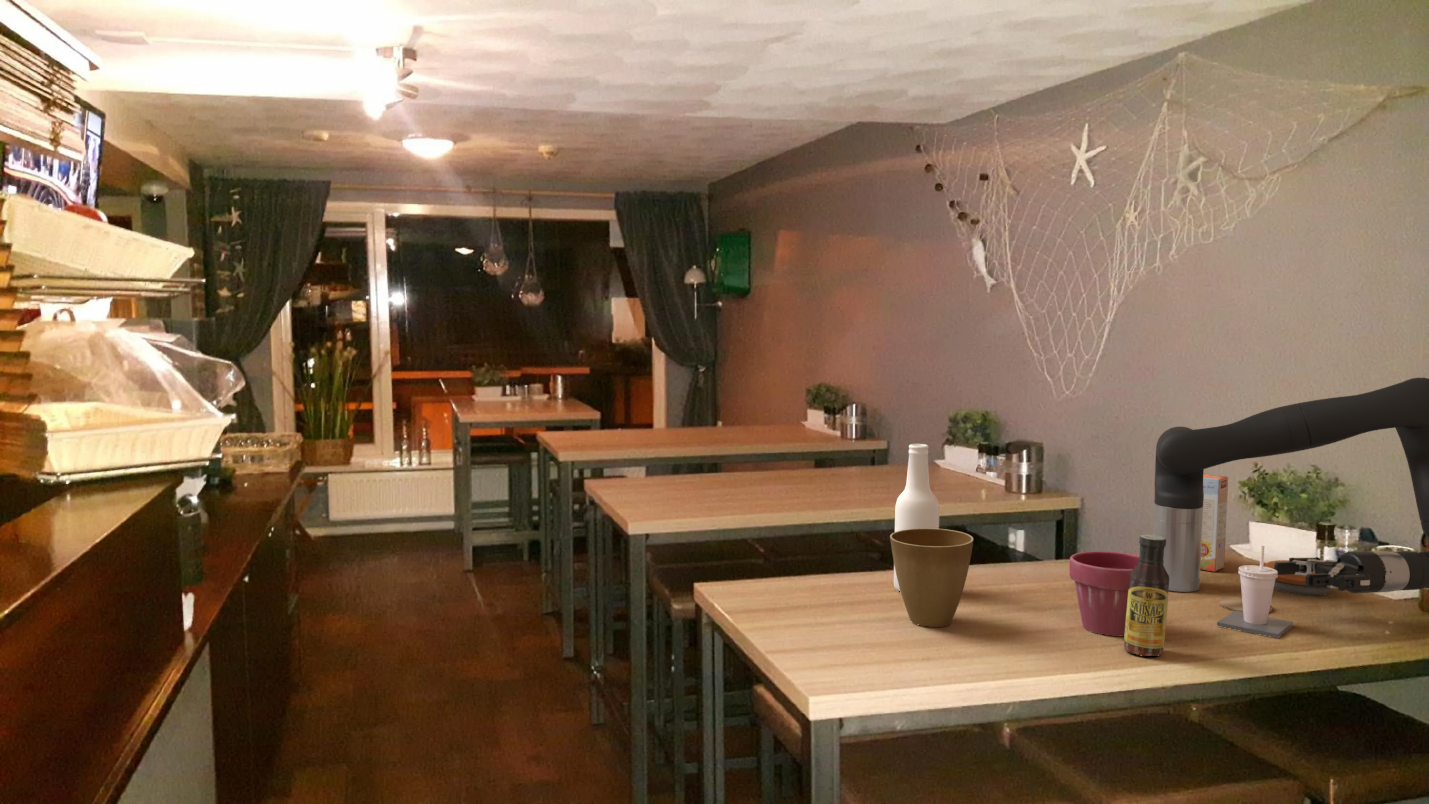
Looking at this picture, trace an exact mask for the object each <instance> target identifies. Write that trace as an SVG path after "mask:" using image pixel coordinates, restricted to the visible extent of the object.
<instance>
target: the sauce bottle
mask: <svg viewBox="0 0 1429 804" xmlns="http://www.w3.org/2000/svg"><path fill="white" fill-rule="evenodd" d="M1138 540H1139V541H1138V543H1139V555H1138V556H1139V561H1138V563H1137V564H1136V566H1135V567H1134V569H1133V570H1132V571H1131V573H1130V584H1129V589H1128V599H1127V611H1126V623H1125V634H1124V636H1123V639H1124V650H1125V651H1126V652H1127V651H1128V652H1127V653H1129V652H1130V654H1132V655H1134V654H1136V655H1135V656H1138V655H1142V656H1141V657H1143V656H1158V655H1159V656H1161V655H1162V654H1163V651H1164V648H1165V647H1164V646H1165V638H1166V637H1165V636H1166V627H1167V617H1168V606H1169V605H1168V603H1169V590H1168V588H1169V575H1168V573H1167V572H1166V570H1165V568H1164V565H1163V563H1164V560H1163V557H1164V548H1165V546H1166V538H1164V537H1161V536H1157V535H1153V534H1141V535H1139V539H1138ZM1159 656H1158V657H1159Z"/></svg>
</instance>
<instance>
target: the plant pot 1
mask: <svg viewBox="0 0 1429 804" xmlns="http://www.w3.org/2000/svg"><path fill="white" fill-rule="evenodd" d="M889 539H890V540H889V541H890V546H891V553H892V558H893V567H894V566H895V570H896V575H897V579H898V583H899V587H900V591H901V597H902V600H903V603H904V604H903V605H904V606H905V607H904V608H905V609H906V612H907V615H908V617H909V620H910V622H911V621H912V622H913V624H914V623H915V624H914V625H916V624H919V625H922V626H921V627H924V626H929V627H928V628H941V627H940V626H944V627H947V626H949V625H951V624H952V621H953V619H954V617H955V614H956V611H957V609H958V607H959V604H960V600H961V598H962V594H963V592H964V587H965V584H966V580H967V577H968V572H969V568H970V562H971V558H972V552H973V551H972V550H973V544H974V537H973V536H972V535H970V534H968V533H966V532H963V531H958V530H953V529H952V530H951V529H944V528H939V529H934V528H918V529H907V530H901V531H897V532H895V531H894V532H892V533H891V534H890V535H889ZM912 622H911V623H912ZM919 625H918V626H919Z"/></svg>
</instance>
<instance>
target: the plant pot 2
mask: <svg viewBox="0 0 1429 804" xmlns="http://www.w3.org/2000/svg"><path fill="white" fill-rule="evenodd" d="M1139 556H1140V555H1139V554H1138V555H1137V554H1132V553H1126V552H1120V551H1119V552H1118V551H1108V550H1107V551H1106V550H1105V551H1104V550H1102V551H1101V550H1099V551H1098V550H1097V551H1096V550H1093V551H1091V550H1090V551H1082V552H1077V553H1074V554H1072V555H1071V556H1070V557H1069V571H1068V572H1069V577H1070V579H1071V580H1072V581H1074V586H1075V587H1074V588H1075V591H1076V598H1077V603H1078V608H1079V613H1080V617H1081V623H1082V627H1083V629H1085V630H1086V629H1087V631H1088V630H1089V632H1091V633H1094V632H1095V633H1094V634H1097V633H1098V635H1102V634H1106V635H1105V636H1109V635H1124V634H1125V623H1126V611H1127V599H1128V589H1129V584H1130V573H1131V571H1132V570H1133V569H1134V567H1135V566H1136V564H1137V563H1138V561H1139Z"/></svg>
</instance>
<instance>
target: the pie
mask: <svg viewBox="0 0 1429 804" xmlns="http://www.w3.org/2000/svg"><path fill="white" fill-rule="evenodd" d="M1276 562H1289V559H1288V560H1287V559H1286V560H1284V559H1283V560H1281V559H1280V560H1279V559H1278V560H1271V561H1268V562H1267V563H1263V566H1264V567H1268V568H1272V569H1274V565H1275V563H1276ZM1311 573H1312V574H1315V572H1311ZM1305 581H1306V576H1305V575H1294V574H1287V575H1278V577H1277V578H1276V579H1275V584H1274V589H1273V590H1277V591H1279V592H1283V593H1287V594H1291V595H1292V594H1293V595H1298V594H1299V595H1300V596H1308V595H1322V596H1326V595H1325V594H1328V595H1330V594H1331V593H1332V592H1333V591H1334V590H1335V589H1336V588H1329V587H1328V585H1327V586H1326V587H1309V586H1306V584H1305ZM1329 593H1330V594H1329Z"/></svg>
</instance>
